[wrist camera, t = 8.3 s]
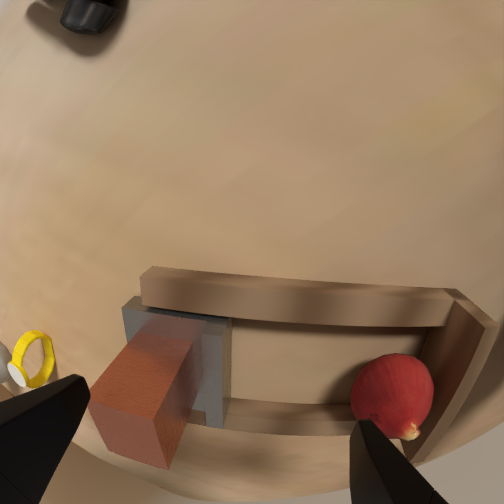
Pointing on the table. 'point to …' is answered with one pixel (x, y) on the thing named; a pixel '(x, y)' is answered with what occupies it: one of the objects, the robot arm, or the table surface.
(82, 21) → the can opener
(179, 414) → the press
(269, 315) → the bench
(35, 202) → the table surface
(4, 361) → the salt shaker
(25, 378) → the watch
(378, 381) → the onion
